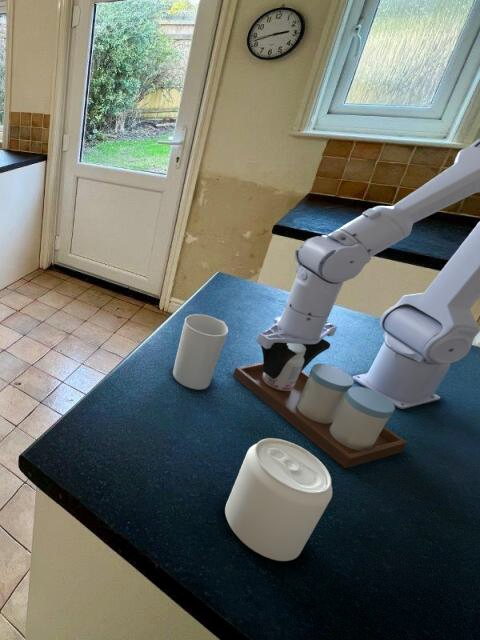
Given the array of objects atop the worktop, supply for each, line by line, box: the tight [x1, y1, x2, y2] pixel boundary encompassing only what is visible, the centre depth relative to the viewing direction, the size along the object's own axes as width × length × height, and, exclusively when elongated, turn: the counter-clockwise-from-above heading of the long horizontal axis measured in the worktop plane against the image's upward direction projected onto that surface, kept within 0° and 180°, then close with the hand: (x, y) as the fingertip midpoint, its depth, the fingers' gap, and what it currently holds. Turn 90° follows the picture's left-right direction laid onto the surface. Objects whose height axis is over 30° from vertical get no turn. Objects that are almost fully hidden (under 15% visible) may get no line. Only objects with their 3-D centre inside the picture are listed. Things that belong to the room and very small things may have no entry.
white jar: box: [297, 363, 355, 423], centre depth 67 cm, size 5×5×8 cm
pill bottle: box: [262, 343, 306, 391], centre depth 73 cm, size 5×5×8 cm
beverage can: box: [224, 437, 333, 562], centre depth 50 cm, size 8×8×12 cm
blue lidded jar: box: [330, 386, 396, 451], centre depth 62 cm, size 5×5×8 cm
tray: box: [232, 361, 408, 469], centre depth 70 cm, size 11×20×2 cm, turn 14°
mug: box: [172, 313, 229, 390], centre depth 75 cm, size 10×7×12 cm, turn 118°
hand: (281, 372), depth 74 cm, fingers closed on pill bottle, 5 cm apart
